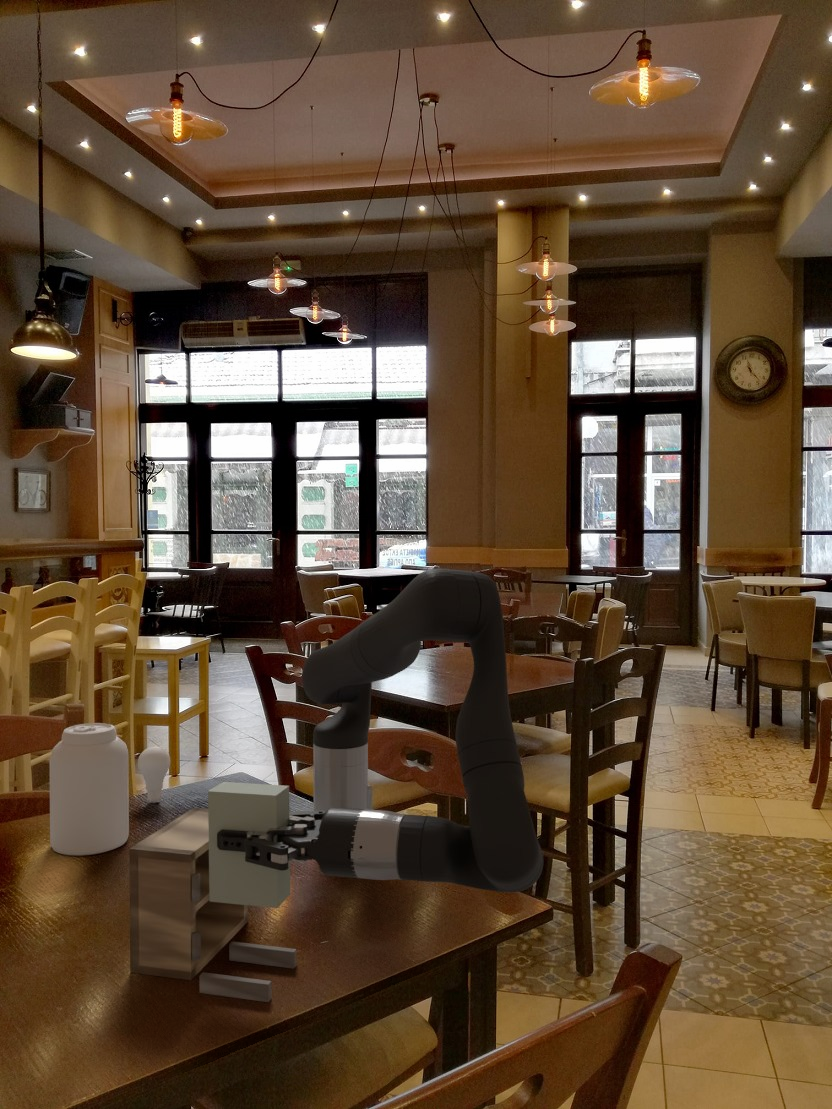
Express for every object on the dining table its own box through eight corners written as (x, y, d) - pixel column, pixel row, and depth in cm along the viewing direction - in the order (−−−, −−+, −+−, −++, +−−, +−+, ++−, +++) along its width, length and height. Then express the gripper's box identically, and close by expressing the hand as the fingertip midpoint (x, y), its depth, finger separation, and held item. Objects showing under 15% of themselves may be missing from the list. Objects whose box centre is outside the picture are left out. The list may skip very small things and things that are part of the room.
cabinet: (194, 915, 120) (193, 807, 120) (323, 930, 116) (322, 818, 116) (119, 981, 103) (118, 855, 102) (268, 1002, 98) (268, 870, 98)
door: (228, 884, 107) (226, 779, 107) (293, 890, 105) (292, 783, 105) (209, 901, 102) (208, 791, 102) (277, 908, 100) (276, 795, 100)
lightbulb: (177, 800, 172) (176, 745, 172) (155, 809, 166) (155, 752, 166) (153, 796, 174) (152, 741, 174) (131, 805, 169) (130, 748, 169)
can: (50, 862, 140) (49, 738, 139) (49, 837, 151) (48, 722, 151) (132, 850, 145) (131, 731, 144) (125, 827, 156) (124, 716, 156)
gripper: (382, 792, 106) (251, 784, 110) (346, 831, 93) (198, 820, 97) (382, 853, 107) (252, 843, 111) (346, 901, 93) (199, 887, 97)
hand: (227, 832), depth 104 cm, fingers closed on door, 4 cm apart
